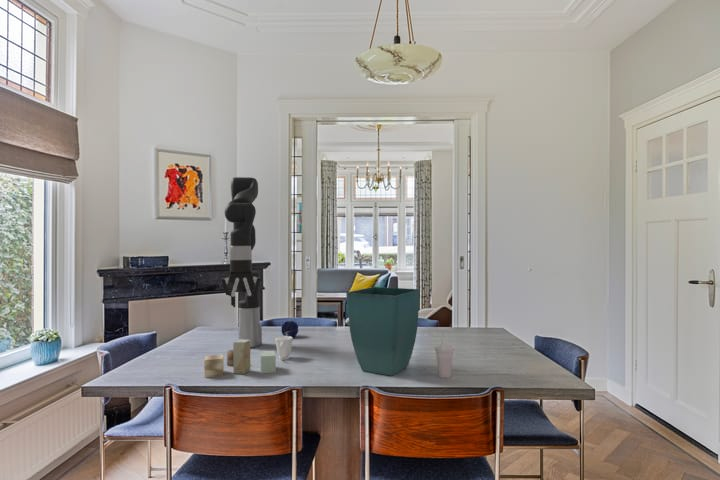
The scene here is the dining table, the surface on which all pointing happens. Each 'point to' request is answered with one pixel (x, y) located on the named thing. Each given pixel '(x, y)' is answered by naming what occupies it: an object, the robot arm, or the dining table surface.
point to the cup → (284, 346)
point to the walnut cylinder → (230, 358)
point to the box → (241, 356)
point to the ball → (290, 329)
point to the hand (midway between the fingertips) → (241, 306)
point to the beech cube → (213, 365)
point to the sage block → (267, 362)
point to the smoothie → (444, 359)
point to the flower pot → (383, 327)
